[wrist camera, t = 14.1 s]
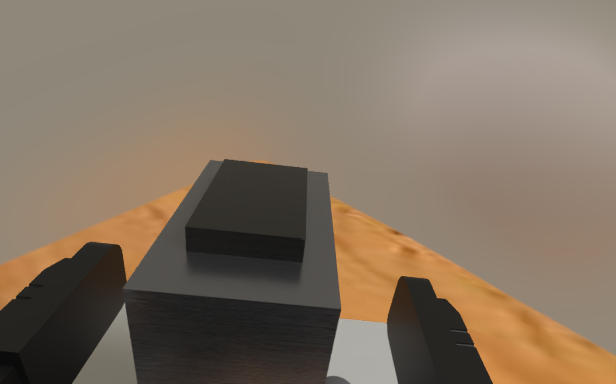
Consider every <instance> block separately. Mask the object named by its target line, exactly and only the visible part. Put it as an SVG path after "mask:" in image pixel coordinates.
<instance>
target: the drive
mask: <svg viewBox="0 0 616 384" xmlns="http://www.w3.org/2000/svg"><path fill="white" fill-rule="evenodd" d="M123 295H124V301H125V307H126V314H127V320H128V327H129V333H130V339H131V346H132V352H133V358H134V365H135V371H136V378H137V384H325V382H326V377H327V372H328V368H329V363H330V359H331V354H332V349H333V345H334V340H335V335H336V331H337V326H338V321H339V317H340V312H341V303H340V293H339V283H338V273H337V263H336V253H335V243H334V233H333V223H332V213H331V203H330V193H329V184H328V174H327V173H322V172H313V171H307V168H299V167H291V166H290V167H289V166H282V165H273V164H264V163H255V162H246V161H236V160H228V159H225V160H224V161H223V162H222V161H213V160H210V161H209V163H208V164H207V166H206V167H205V169H204V170H203V172H202V173H201V175H200V176H199V178H198V179H197V180H196V182H195V183H194V185H193V186H192V188H191V189H190V191H189V192H188V194H187V195H186V197H185V198H184V199H183V201H182V202H181V204H180V205H179V207H178V208H177V210H176V211H175V213H174V214H173V216H172V217H171V218H170V220H169V221H168V223H167V224H166V226H165V227H164V229H163V230H162V232H161V233H160V235H159V236H158V237H157V239H156V240H155V242H154V243H153V245H152V246H151V248H150V249H149V251H148V252H147V254H146V255H145V256H144V258H143V259H142V261H141V262H140V264H139V265H138V267H137V268H136V270H135V271H134V273H133V274H132V276H131V277H130V278H129V280H128V281H127V283H126V284H125V286H124V287H123Z"/></svg>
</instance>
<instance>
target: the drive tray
mask: <svg viewBox="0 0 616 384" xmlns="http://www.w3.org/2000/svg"><path fill="white" fill-rule="evenodd" d="M72 384H137V378H136V371H135V365H134V358H133V352H132V346H131V339H130V333H129V327H128V320H127V314H126V307H125V303H124V305H123V307H122V309H121V310H120V312H119V313H118V315H117V317H116V318H115V320H114V321H113V323H112V324H111V326H110V327H109V329H108V330H107V332H106V333H105V335H104V336H103V338H102V339H101V341H100V342H99V344H98V345H97V347H96V348H95V350H94V351H93V353H92V354H91V356H90V357H89V359H88V360H87V362H86V363H85V365H84V366H83V368H82V369H81V371H80V372H79V374H78V375H77V377H76V379H75V380H74V382H73V383H72ZM325 384H398V381H397V377H396V372H395V368H394V363H393V359H392V354H391V349H390V345H389V340H388V335H387V323H379V322H369V321H360V320H350V319H340V318H339V321H338V326H337V331H336V335H335V340H334V345H333V349H332V354H331V359H330V363H329V368H328V372H327V377H326V382H325Z"/></svg>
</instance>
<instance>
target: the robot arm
mask: <svg viewBox="0 0 616 384" xmlns="http://www.w3.org/2000/svg"><path fill="white" fill-rule="evenodd" d="M126 283H127V281H126V274H125V267H124V261H123V254H122V249H121V247H120V246H119V245H116V244H107V243H97V242H88V243H86V244H85V245H84V246H83V247H82V248H81V249H80V250H79V251H78V252H77V253H76V254H75V255H74V256H73V257H72V258H64V259H62V260H61V261H59V262H57V263H55V264H53V265H52V266H50V267H48V268H46V269H44V270H43V271H42V272H41V273H40V274H39V275H38V276H37V277H36V278H35V279H34V280H33V281H32V282H31V283H30V284H29V287H25V288H24V289H23V290H22V291H21V292H20V293H19V294H18V295H17V296H16V299H13V300H11V301H10V302H9V303H8V304H7V305H6V306H5V307H4V308H3V309H2V310H1V311H0V384H72V383H73V382H74V380H75V379H76V377H77V375H78V374H79V372H80V371H81V369H82V368H83V366H84V365H85V363H86V362H87V360H88V359H89V357H90V356H91V354H92V353H93V351H94V350H95V348H96V347H97V345H98V344H99V342H100V341H101V339H102V338H103V336H104V335H105V333H106V332H107V330H108V329H109V327H110V326H111V324H112V323H113V321H114V320H115V318H116V317H117V315H118V313H119V312H120V310H121V309H122V307H123V305H124V303H125V301H124V295H123V287H124V286H125V284H126ZM387 335H388V340H389V345H390V349H391V354H392V359H393V363H394V368H395V372H396V377H397V381H398V384H493V383H492V381H491V379H490V376H489V374H488V372H487V370H486V368H485V366H484V364H483V362H482V360H481V357H480V355H479V353H478V351H477V349H476V348H475V347H474V343H473V341H472V339H471V336H470V334H469V333H467V328H466V326H465V324H464V322H463V320H462V318H461V315H460V314H459V312H458V311H457V310H456V309H455V308H454V307H453V306H452V305H451V304H450V303H449V302H448V301H447V300H446V299H440V298H437V297H436V295H435V292H434V290H433V287H432V285H431V283H430V281H429V280H428V279H424V278H415V277H406V276H401V277H400V278H399V280H398V283H397V287H396V290H395V293H394V297H393V300H392V303H391V307H390V310H389V314H388V319H387Z"/></svg>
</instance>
